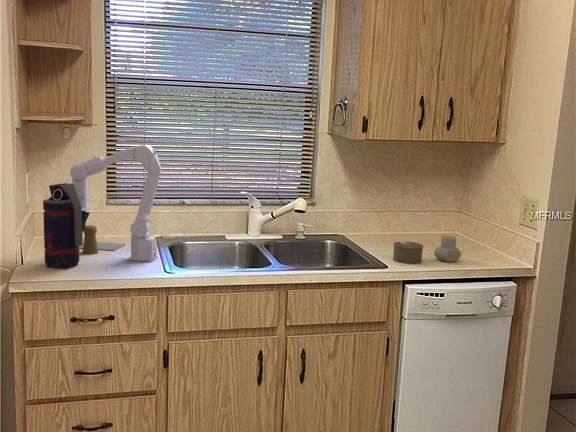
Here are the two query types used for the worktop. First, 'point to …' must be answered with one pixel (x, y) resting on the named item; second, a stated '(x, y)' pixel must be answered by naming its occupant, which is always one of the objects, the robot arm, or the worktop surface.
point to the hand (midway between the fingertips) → (80, 231)
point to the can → (408, 252)
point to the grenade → (62, 226)
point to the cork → (90, 240)
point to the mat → (107, 246)
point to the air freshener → (447, 250)
